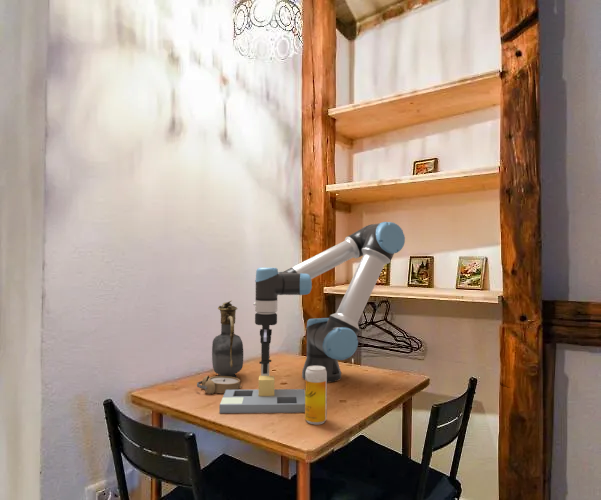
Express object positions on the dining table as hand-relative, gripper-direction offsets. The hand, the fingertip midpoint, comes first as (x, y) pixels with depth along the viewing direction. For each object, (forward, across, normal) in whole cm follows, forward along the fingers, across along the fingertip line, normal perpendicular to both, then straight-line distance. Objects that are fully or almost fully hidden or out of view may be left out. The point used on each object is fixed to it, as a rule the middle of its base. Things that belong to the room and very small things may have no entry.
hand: (265, 382), depth 144 cm
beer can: (+4, +25, +16) cm, 30 cm away
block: (+2, +7, +1) cm, 8 cm away
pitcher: (+4, -18, -15) cm, 24 cm away
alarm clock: (+5, -5, -16) cm, 18 cm away
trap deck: (+4, +10, 0) cm, 11 cm away
